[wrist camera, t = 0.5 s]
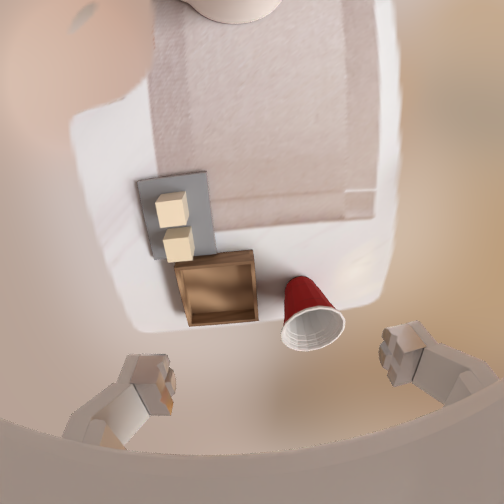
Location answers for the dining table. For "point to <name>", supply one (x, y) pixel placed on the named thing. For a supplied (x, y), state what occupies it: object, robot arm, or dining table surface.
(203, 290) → the walnut bin
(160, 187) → the slate board
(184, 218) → the cream wooden cube
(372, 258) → the dining table surface
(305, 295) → the plastic cup
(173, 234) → the beige block
